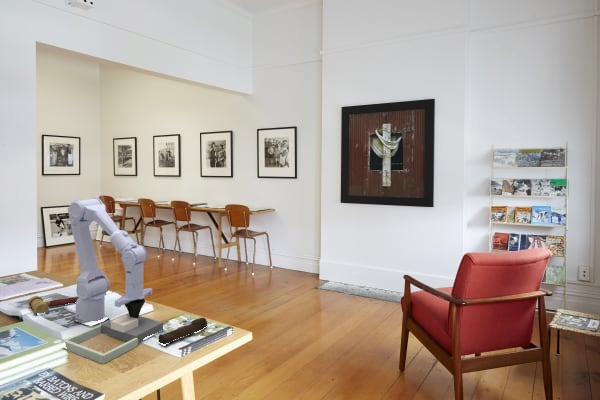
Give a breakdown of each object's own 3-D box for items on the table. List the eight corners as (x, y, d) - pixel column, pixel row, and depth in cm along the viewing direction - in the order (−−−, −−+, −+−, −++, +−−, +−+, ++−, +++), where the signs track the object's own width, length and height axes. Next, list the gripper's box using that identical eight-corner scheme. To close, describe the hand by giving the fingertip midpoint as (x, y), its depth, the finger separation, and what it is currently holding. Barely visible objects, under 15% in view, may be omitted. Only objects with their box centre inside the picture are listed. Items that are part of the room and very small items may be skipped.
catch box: (62, 348, 127) (62, 340, 126) (98, 332, 138) (98, 325, 138) (103, 364, 119) (103, 355, 119) (138, 345, 131) (138, 338, 131)
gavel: (87, 289, 169) (96, 296, 163) (86, 299, 170) (95, 307, 163) (28, 296, 154) (35, 304, 147) (27, 308, 155) (34, 317, 148)
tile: (110, 328, 135) (110, 321, 135) (125, 322, 141) (125, 315, 140) (123, 332, 133) (123, 325, 132) (138, 326, 138) (138, 319, 138)
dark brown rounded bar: (164, 349, 131) (164, 335, 130) (157, 344, 133) (157, 331, 132) (211, 331, 145) (212, 318, 145) (204, 327, 148) (205, 315, 147)
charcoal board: (101, 333, 138) (100, 324, 138) (129, 320, 149) (129, 312, 148) (135, 344, 131) (135, 336, 131) (162, 330, 142) (162, 322, 142)
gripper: (125, 290, 130) (125, 330, 132) (159, 278, 144) (158, 315, 145) (110, 286, 133) (110, 325, 135) (144, 275, 146) (143, 311, 148)
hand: (134, 320), depth 140 cm, fingers closed
